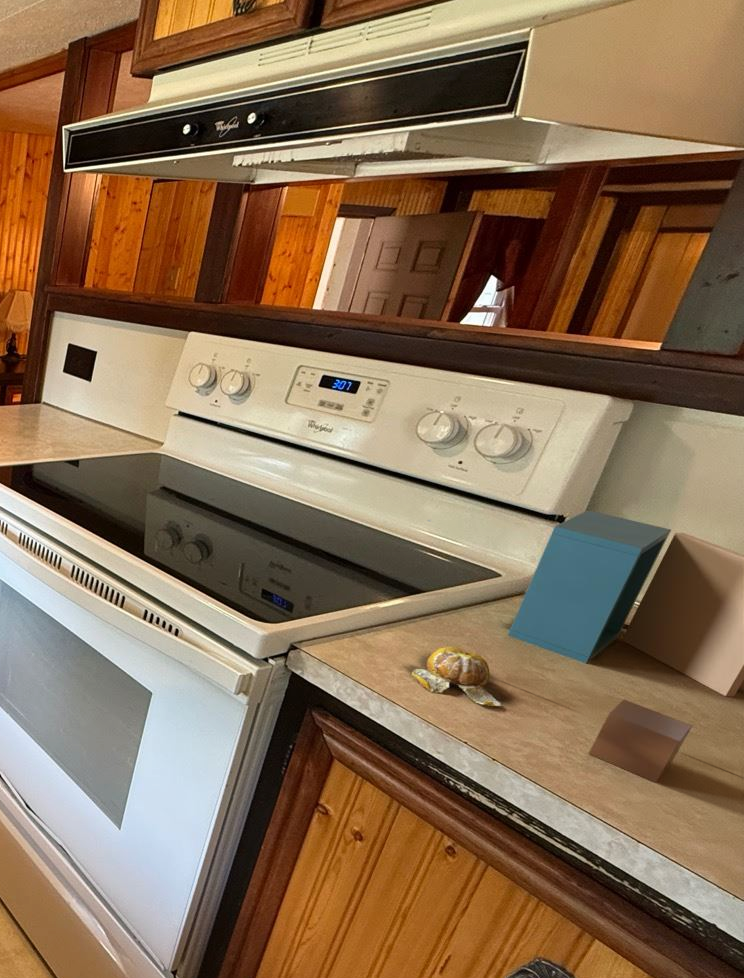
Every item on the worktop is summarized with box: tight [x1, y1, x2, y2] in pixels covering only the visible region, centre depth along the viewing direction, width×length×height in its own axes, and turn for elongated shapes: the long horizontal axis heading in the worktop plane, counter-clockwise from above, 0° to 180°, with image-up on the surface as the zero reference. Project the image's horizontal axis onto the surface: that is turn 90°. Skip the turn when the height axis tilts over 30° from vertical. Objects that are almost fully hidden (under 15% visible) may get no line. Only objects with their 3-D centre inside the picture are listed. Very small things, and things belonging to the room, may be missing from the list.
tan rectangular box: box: [621, 532, 744, 698], centre depth 88 cm, size 8×13×16 cm, turn 177°
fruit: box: [411, 646, 503, 707], centre depth 86 cm, size 8×8×4 cm
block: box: [588, 699, 693, 784], centre depth 73 cm, size 5×5×5 cm
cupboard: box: [507, 509, 672, 664], centre depth 95 cm, size 8×13×16 cm, turn 122°
